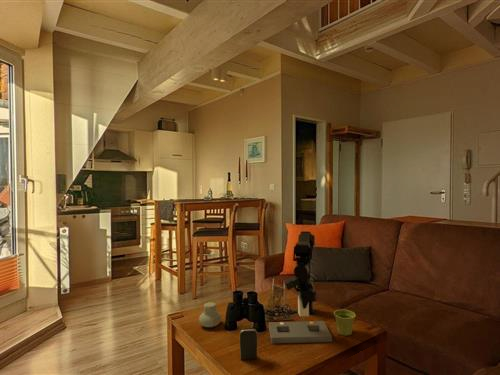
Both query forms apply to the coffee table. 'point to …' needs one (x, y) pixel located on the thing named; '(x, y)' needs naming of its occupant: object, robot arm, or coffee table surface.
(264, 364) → the coffee table surface
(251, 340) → the battery charger
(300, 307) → the plug
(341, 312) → the plant pot
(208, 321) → the air freshener
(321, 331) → the panel board
